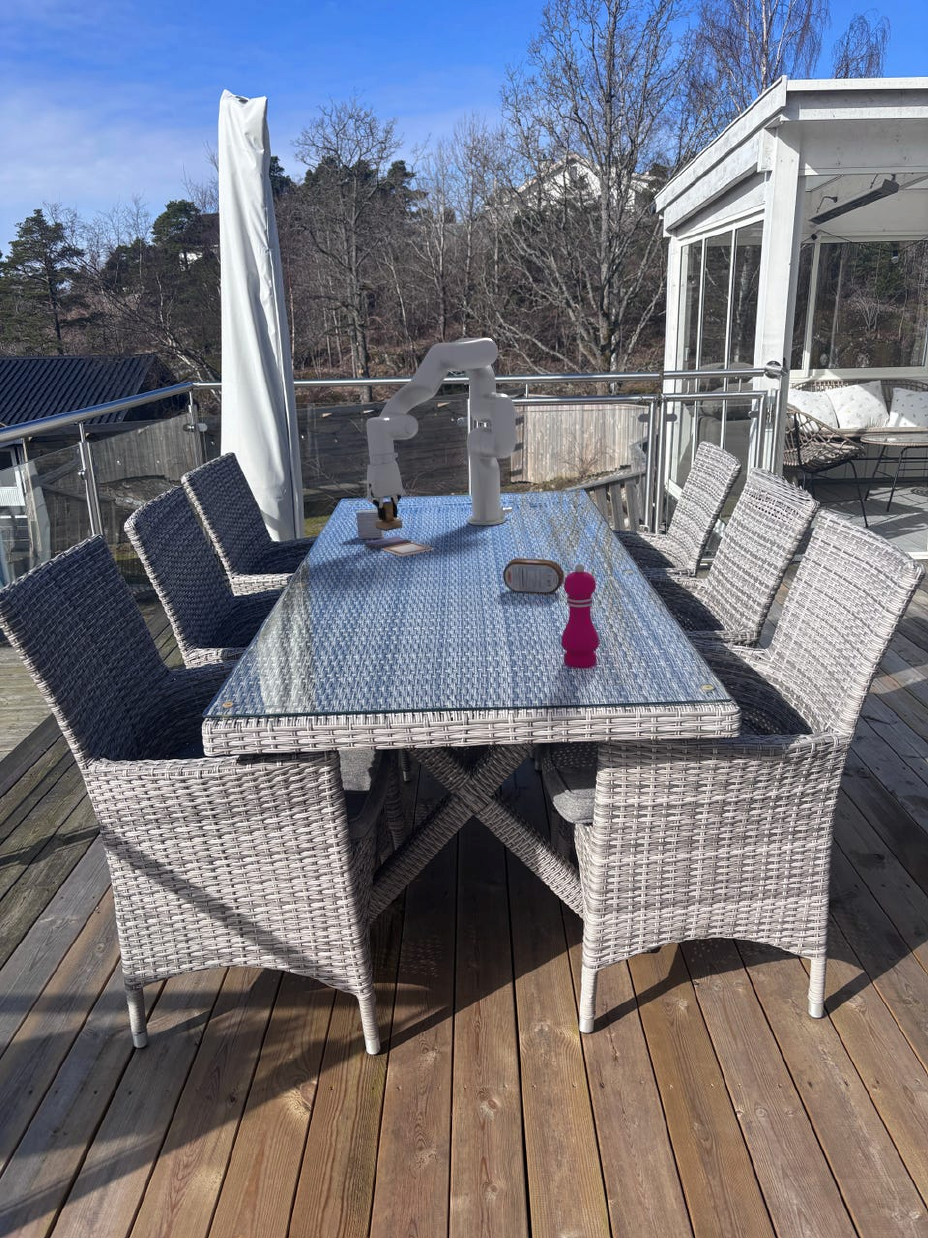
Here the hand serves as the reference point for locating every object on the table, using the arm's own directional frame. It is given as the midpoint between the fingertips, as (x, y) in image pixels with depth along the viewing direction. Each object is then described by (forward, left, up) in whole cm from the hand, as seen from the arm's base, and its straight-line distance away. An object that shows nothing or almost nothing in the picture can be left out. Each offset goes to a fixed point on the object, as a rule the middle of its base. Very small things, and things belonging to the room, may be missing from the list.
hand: (388, 517), depth 275 cm
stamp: (0, 0, -3) cm, 3 cm away
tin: (0, +72, -9) cm, 72 cm away
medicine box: (0, -12, -8) cm, 15 cm away
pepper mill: (+23, +116, -8) cm, 118 cm away
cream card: (0, +11, -8) cm, 13 cm away
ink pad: (+1, 0, -8) cm, 8 cm away
